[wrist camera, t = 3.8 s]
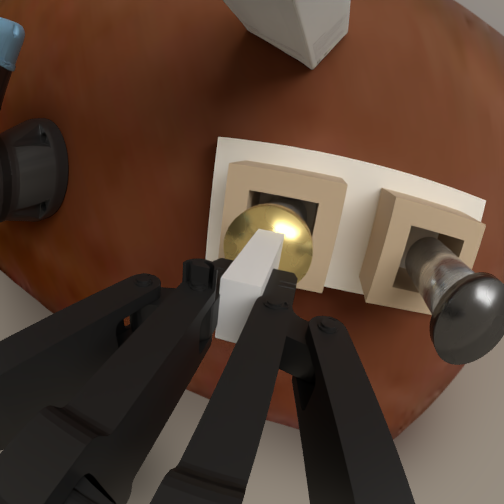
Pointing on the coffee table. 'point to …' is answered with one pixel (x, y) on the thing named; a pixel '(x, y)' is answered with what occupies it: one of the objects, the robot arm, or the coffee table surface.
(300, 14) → the skincare box
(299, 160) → the socket board
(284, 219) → the plug brass
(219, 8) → the coffee table surface
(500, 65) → the coffee table surface
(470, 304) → the plug black
